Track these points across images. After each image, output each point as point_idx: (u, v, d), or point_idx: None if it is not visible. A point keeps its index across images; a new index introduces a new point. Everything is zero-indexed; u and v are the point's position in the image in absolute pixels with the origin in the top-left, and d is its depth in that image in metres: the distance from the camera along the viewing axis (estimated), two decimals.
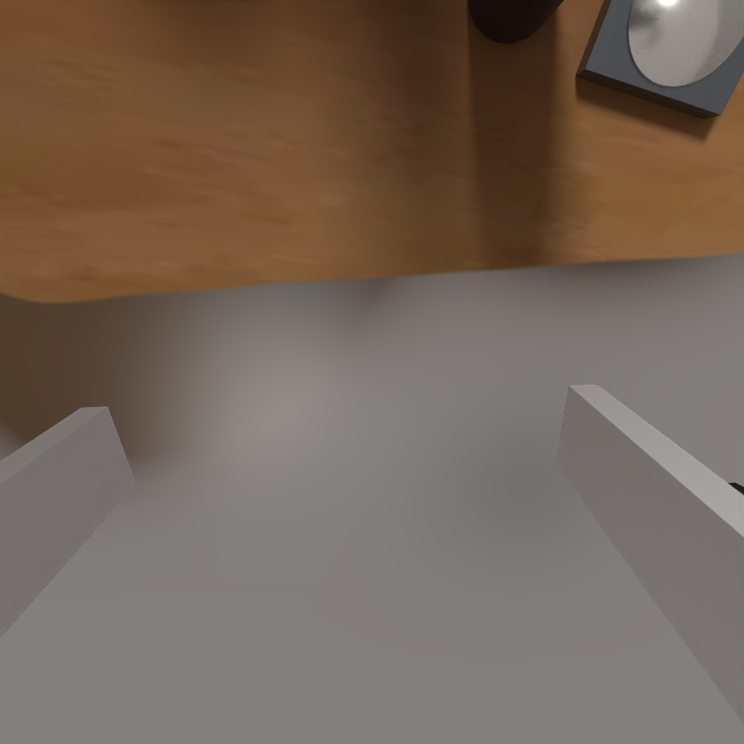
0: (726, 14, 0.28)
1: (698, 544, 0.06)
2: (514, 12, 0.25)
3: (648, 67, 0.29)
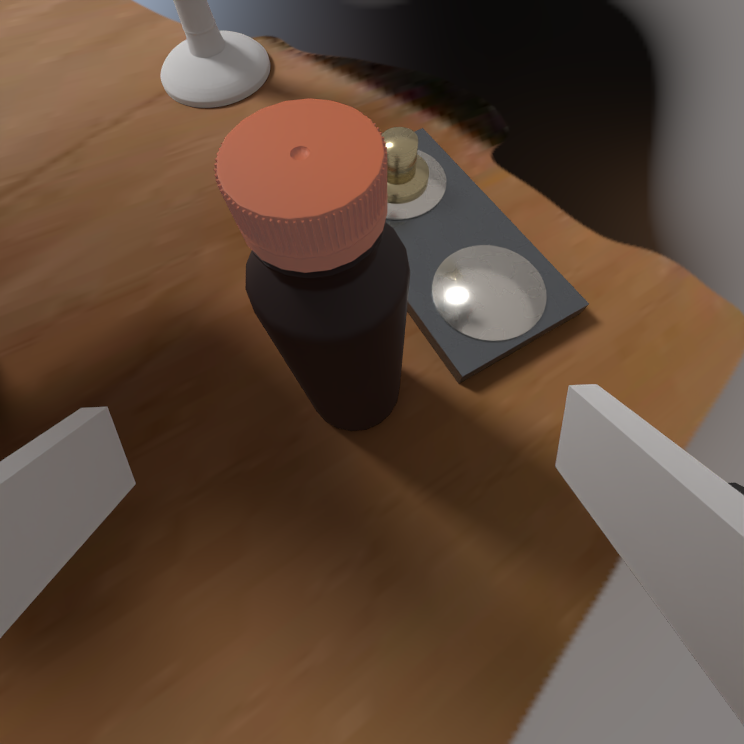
0: (509, 272, 0.31)
1: (698, 544, 0.06)
2: (372, 408, 0.23)
3: (503, 333, 0.28)
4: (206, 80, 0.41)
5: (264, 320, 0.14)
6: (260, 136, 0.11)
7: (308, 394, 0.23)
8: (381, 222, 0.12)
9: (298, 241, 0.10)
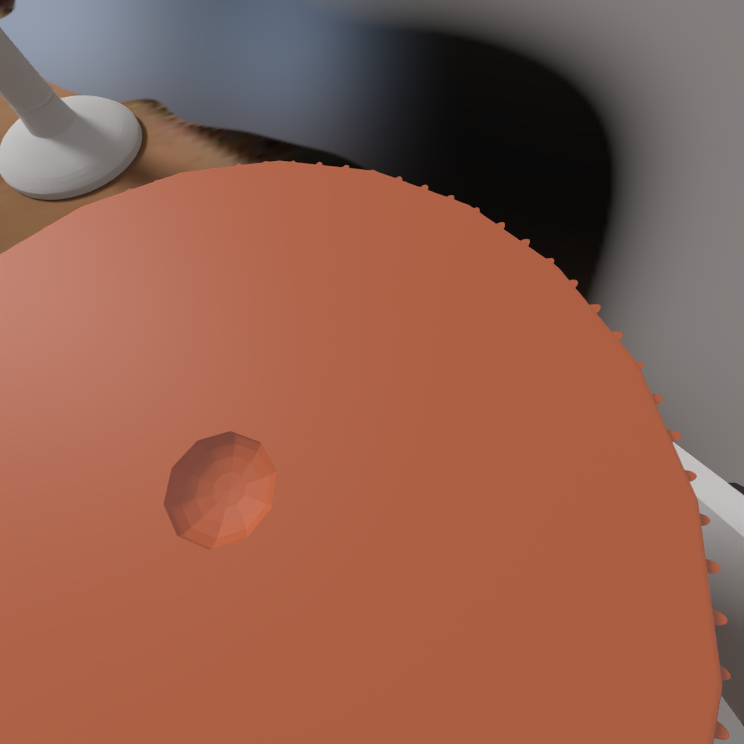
0: None
1: None
2: None
3: None
4: (45, 167, 0.32)
5: None
6: (38, 360, 0.02)
7: None
8: None
9: None
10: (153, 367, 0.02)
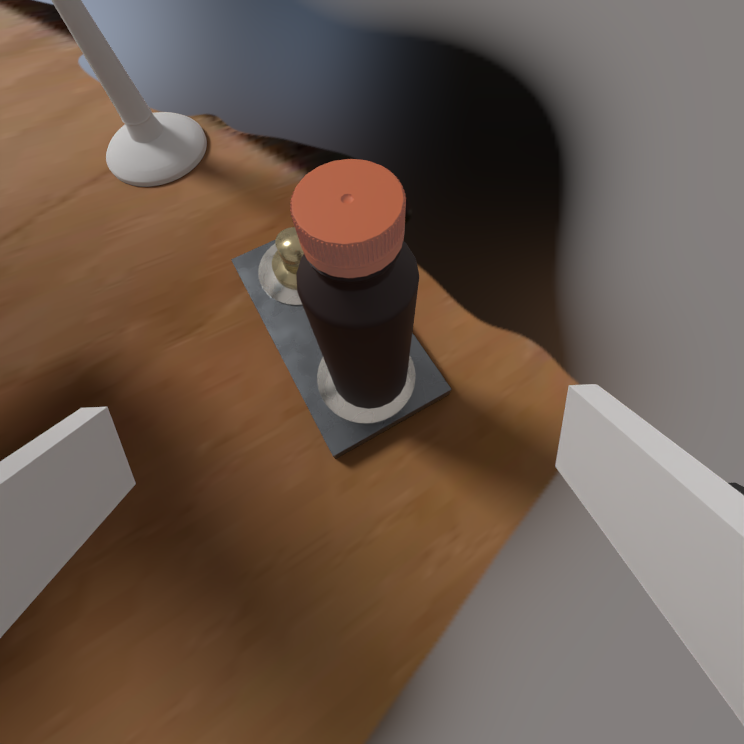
0: None
1: (698, 544, 0.06)
2: (387, 387, 0.29)
3: (373, 417, 0.33)
4: (144, 163, 0.46)
5: (312, 313, 0.20)
6: (319, 187, 0.16)
7: (335, 375, 0.28)
8: (400, 242, 0.17)
9: (347, 257, 0.16)
10: (336, 187, 0.16)
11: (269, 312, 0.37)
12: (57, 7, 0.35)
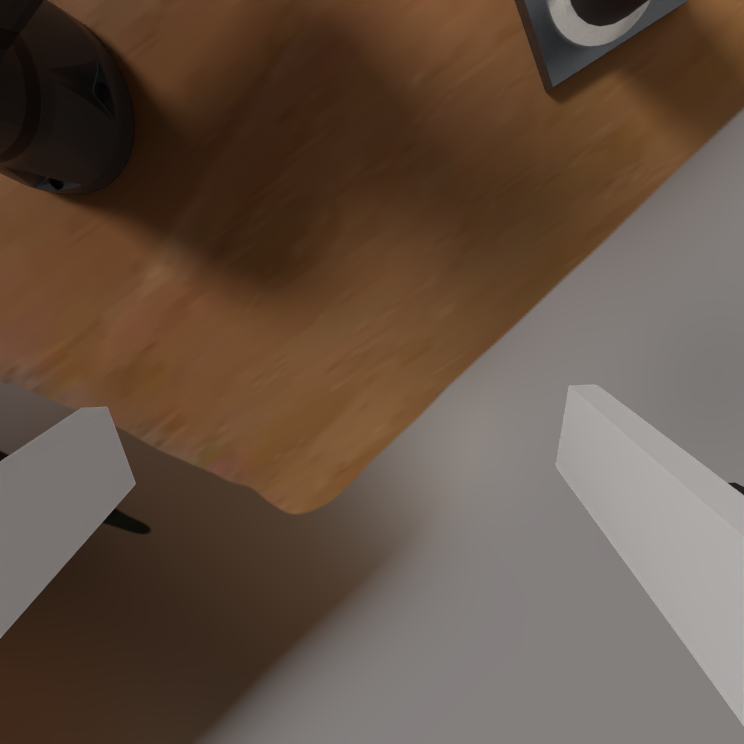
0: None
1: (698, 544, 0.06)
2: None
3: (601, 37, 0.32)
4: None
5: None
6: None
7: None
8: None
9: None
10: None
11: None
12: None
